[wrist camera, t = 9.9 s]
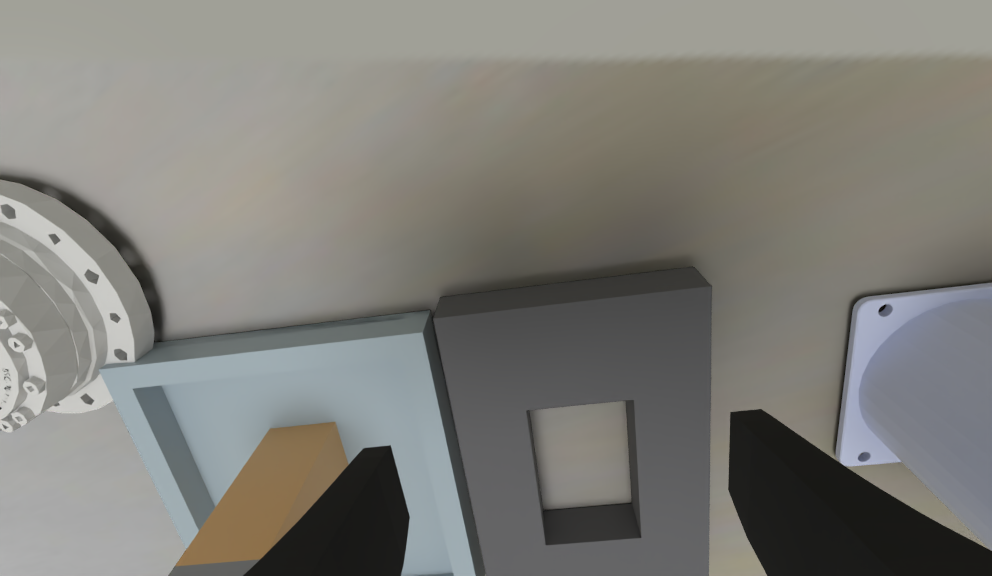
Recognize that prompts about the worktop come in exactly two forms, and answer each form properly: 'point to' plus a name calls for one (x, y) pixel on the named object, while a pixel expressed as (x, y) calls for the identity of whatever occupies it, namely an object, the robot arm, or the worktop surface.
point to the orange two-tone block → (265, 499)
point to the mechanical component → (61, 309)
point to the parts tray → (304, 419)
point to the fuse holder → (579, 381)
